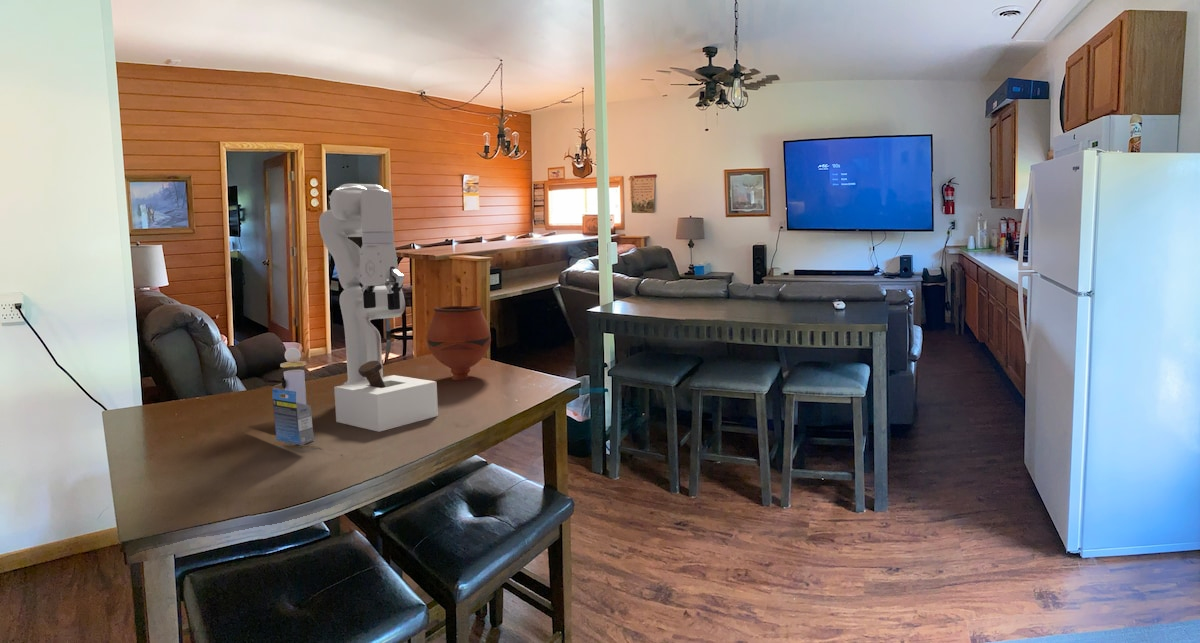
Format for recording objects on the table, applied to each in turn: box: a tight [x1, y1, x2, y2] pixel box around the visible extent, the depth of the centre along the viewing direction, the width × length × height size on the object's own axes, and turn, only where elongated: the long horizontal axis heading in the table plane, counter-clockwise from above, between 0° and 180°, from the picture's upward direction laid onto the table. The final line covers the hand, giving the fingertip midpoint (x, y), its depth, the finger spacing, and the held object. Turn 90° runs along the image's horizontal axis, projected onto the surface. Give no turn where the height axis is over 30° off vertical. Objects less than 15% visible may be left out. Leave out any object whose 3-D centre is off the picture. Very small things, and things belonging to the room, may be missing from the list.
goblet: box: [426, 305, 492, 381], centre depth 213 cm, size 19×19×25 cm
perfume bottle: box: [279, 346, 307, 405], centre depth 167 cm, size 6×6×20 cm
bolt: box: [358, 361, 386, 388], centre depth 174 cm, size 6×5×15 cm
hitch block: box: [333, 374, 439, 433], centre depth 176 cm, size 17×18×9 cm
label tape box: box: [272, 387, 315, 445], centre depth 157 cm, size 9×4×12 cm, turn 59°
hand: (381, 308), depth 173 cm, fingers open, 9 cm apart
